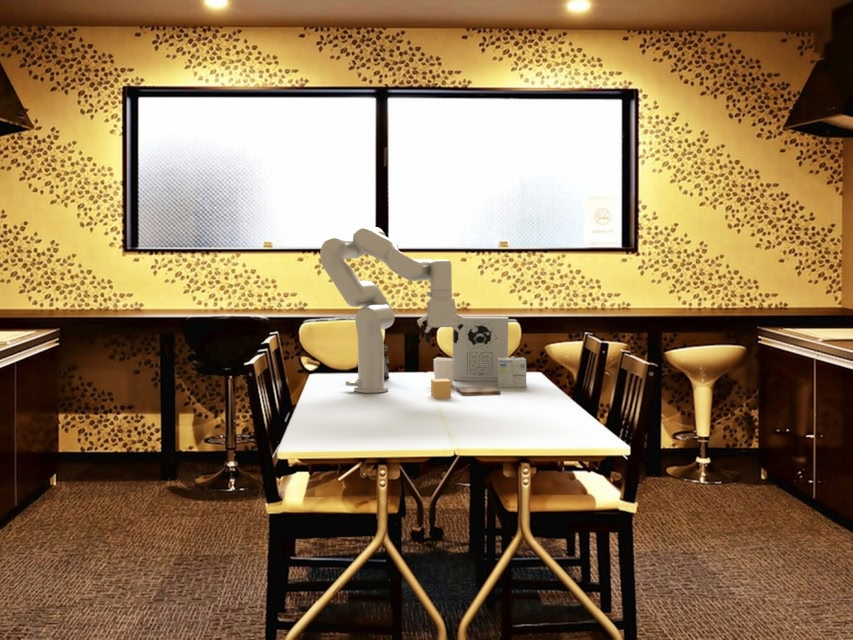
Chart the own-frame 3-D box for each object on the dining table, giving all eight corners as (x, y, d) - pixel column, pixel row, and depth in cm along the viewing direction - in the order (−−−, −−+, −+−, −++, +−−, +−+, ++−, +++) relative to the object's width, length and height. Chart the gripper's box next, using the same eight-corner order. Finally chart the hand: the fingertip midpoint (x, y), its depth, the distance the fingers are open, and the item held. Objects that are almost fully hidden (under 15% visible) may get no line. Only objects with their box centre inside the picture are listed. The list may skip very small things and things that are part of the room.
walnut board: (462, 395, 330) (462, 392, 330) (456, 390, 341) (456, 387, 341) (500, 394, 333) (500, 390, 332) (493, 389, 343) (493, 386, 343)
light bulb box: (524, 384, 355) (524, 356, 354) (526, 387, 349) (527, 359, 348) (496, 384, 355) (496, 357, 354) (498, 387, 348) (498, 359, 347)
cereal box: (507, 378, 371) (508, 316, 369) (507, 381, 363) (507, 318, 361) (454, 377, 373) (454, 316, 371) (452, 380, 365) (452, 317, 363)
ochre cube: (434, 398, 324) (434, 381, 324) (431, 395, 330) (431, 379, 330) (450, 398, 325) (450, 381, 325) (447, 395, 331) (447, 378, 331)
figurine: (373, 377, 375) (373, 340, 374) (391, 380, 367) (391, 342, 365) (355, 379, 369) (355, 342, 368) (373, 382, 361) (373, 344, 359)
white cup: (431, 386, 352) (431, 360, 351) (436, 383, 359) (436, 357, 358) (451, 386, 350) (451, 360, 349) (456, 383, 357) (456, 358, 356)
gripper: (418, 296, 320) (419, 345, 321) (467, 294, 323) (467, 343, 324) (415, 295, 327) (415, 343, 328) (463, 293, 330) (463, 341, 331)
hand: (441, 343), depth 326 cm, fingers open, 9 cm apart
